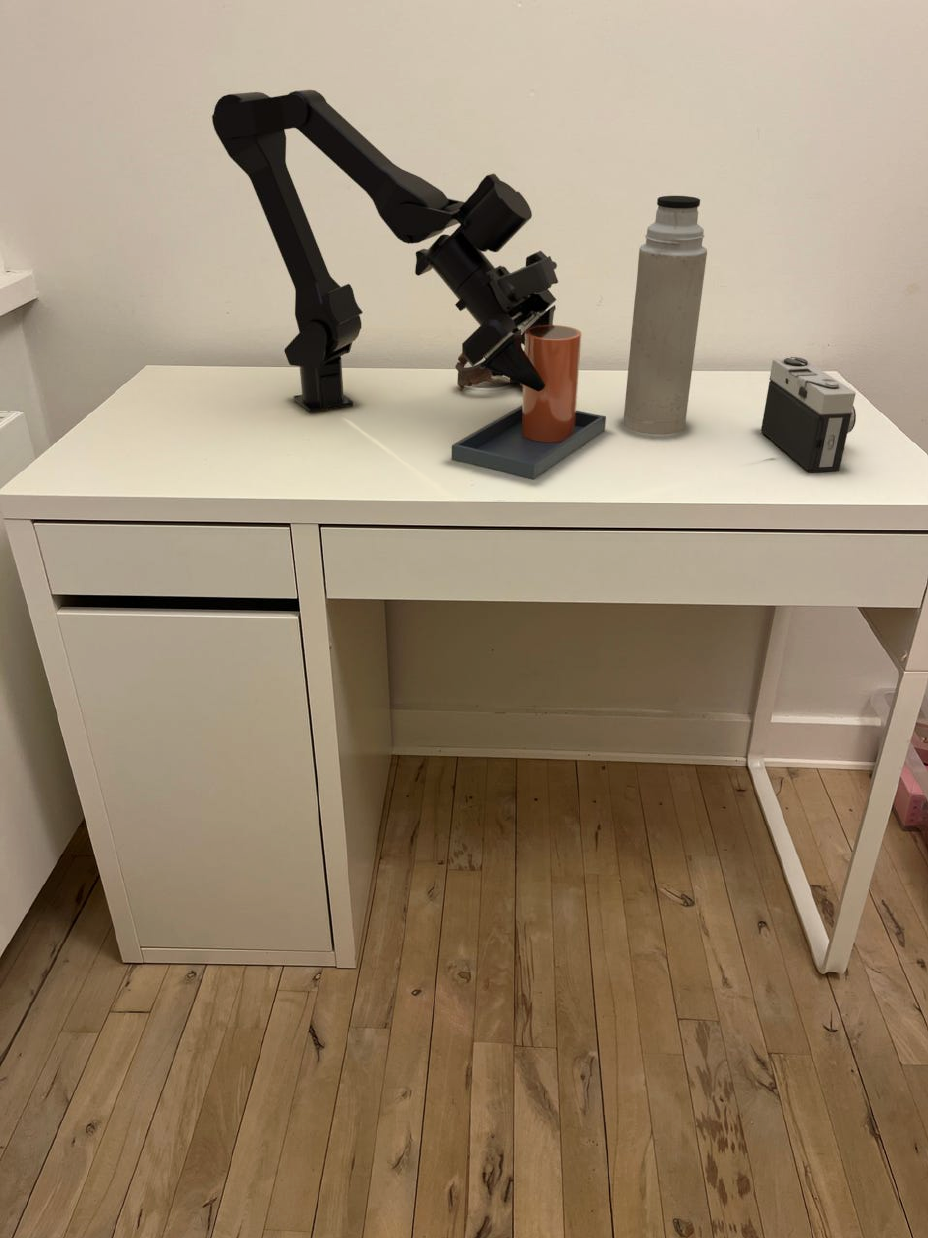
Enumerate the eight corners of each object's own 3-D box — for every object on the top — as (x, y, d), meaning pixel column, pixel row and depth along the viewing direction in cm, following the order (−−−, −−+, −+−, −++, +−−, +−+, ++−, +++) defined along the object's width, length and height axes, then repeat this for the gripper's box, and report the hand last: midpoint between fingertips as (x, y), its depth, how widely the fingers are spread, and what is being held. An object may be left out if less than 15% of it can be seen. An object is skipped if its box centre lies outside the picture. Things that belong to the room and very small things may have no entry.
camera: (871, 469, 116) (890, 387, 111) (806, 473, 115) (822, 390, 110) (817, 428, 128) (832, 352, 123) (757, 431, 127) (770, 355, 122)
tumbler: (511, 429, 126) (514, 329, 119) (555, 420, 129) (560, 322, 122) (540, 446, 121) (545, 342, 114) (585, 436, 124) (592, 334, 117)
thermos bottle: (632, 413, 133) (654, 190, 118) (691, 422, 130) (720, 194, 115) (615, 432, 127) (636, 198, 112) (675, 441, 124) (705, 203, 109)
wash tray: (528, 417, 131) (529, 400, 130) (604, 433, 126) (606, 416, 125) (451, 463, 117) (451, 445, 116) (533, 483, 112) (534, 464, 111)
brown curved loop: (531, 404, 137) (505, 357, 132) (472, 428, 141) (444, 383, 136) (533, 358, 146) (509, 312, 141) (477, 382, 149) (451, 338, 144)
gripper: (488, 245, 107) (579, 357, 109) (543, 219, 121) (623, 318, 123) (424, 312, 113) (511, 416, 115) (484, 279, 128) (560, 372, 130)
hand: (554, 378), depth 121 cm, fingers open, 9 cm apart
